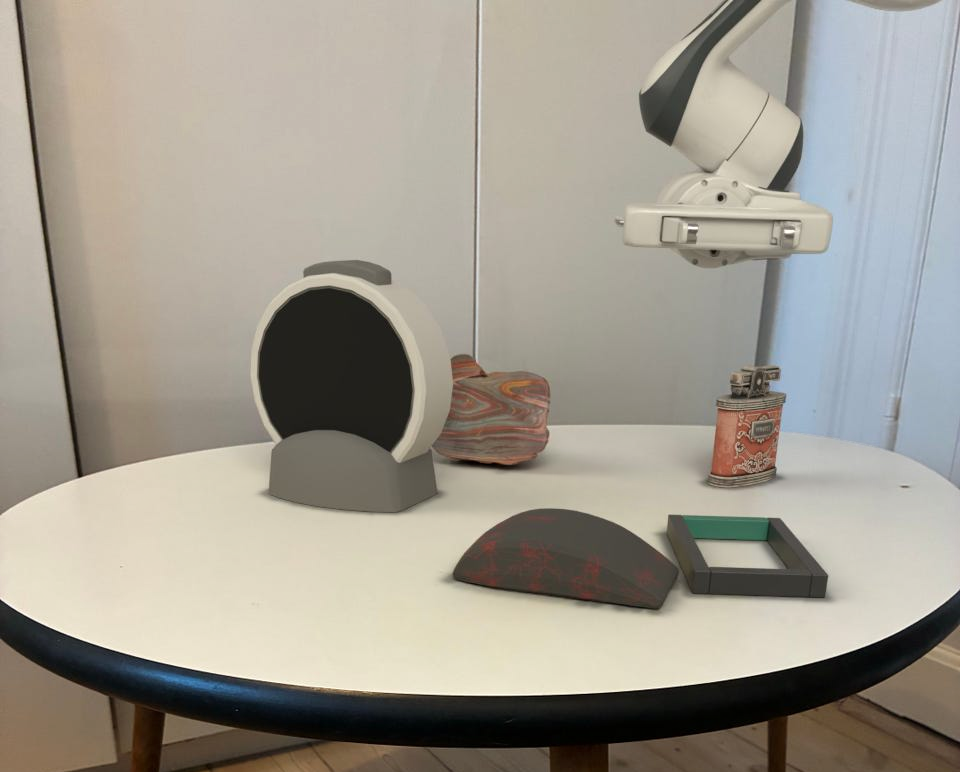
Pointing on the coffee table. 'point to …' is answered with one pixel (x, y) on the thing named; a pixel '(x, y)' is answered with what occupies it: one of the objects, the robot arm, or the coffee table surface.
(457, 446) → the stone
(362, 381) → the alarm clock
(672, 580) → the computer mouse
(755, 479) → the lighter
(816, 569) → the frame
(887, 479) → the coffee table surface
